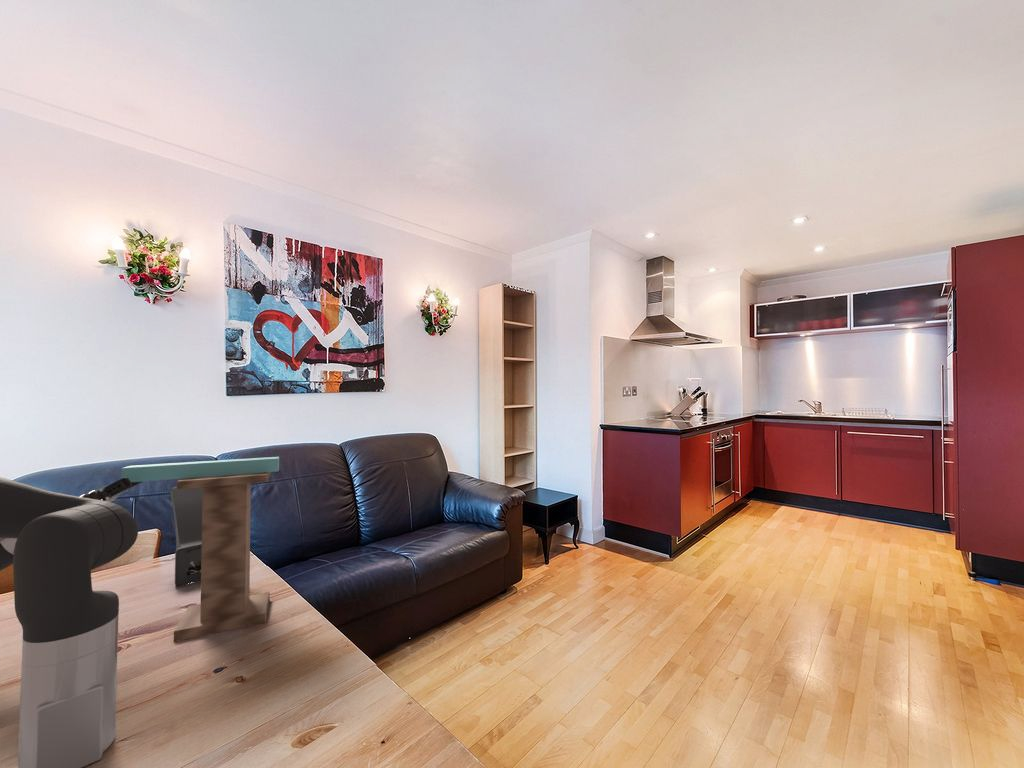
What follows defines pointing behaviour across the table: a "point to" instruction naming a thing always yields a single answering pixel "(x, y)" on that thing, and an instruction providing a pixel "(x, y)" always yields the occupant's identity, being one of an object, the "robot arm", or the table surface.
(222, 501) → the walnut stand
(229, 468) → the teal bar
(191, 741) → the table surface
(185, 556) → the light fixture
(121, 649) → the table surface
